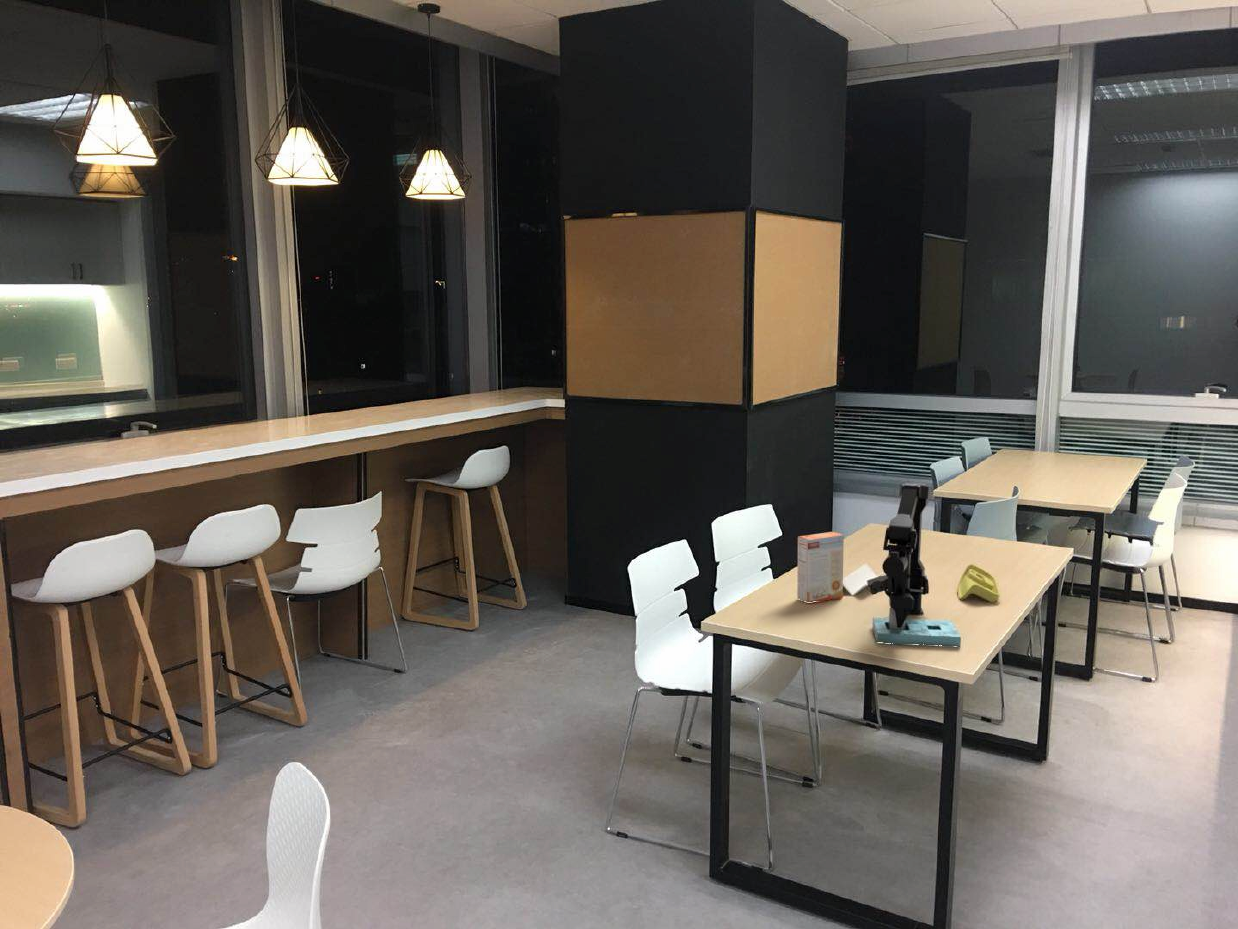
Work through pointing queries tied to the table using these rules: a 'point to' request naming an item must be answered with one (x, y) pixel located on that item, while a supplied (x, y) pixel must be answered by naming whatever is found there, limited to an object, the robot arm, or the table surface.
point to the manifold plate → (918, 632)
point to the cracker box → (820, 567)
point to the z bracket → (859, 579)
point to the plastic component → (978, 584)
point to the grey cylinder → (894, 621)
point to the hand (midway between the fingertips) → (897, 622)
